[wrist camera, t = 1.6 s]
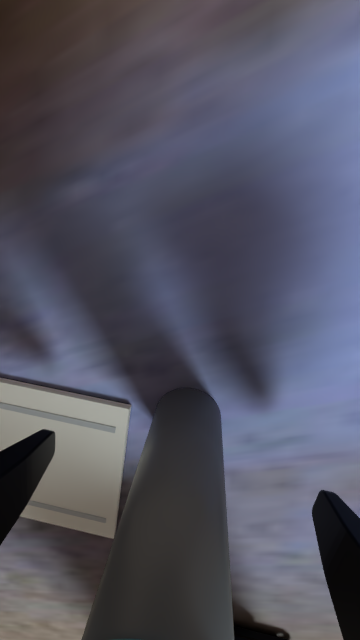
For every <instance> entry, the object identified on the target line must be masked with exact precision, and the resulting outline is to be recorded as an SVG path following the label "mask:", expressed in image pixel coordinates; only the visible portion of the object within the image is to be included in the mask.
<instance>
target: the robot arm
mask: <svg viewBox="0 0 360 640" xmlns="http://www.w3.org/2000/svg"><path fill="white" fill-rule="evenodd" d="M54 453H55V432H54V431H51V430H47V429H42V430H40V431H38V432H36V433H34V434H32V435H30V436H28V437H26V438H24V439H23V440H21V441H19V442H17V443H15V444H13V445H11V446H9V447H7V448H6V449H4V450H2V451H0V545H1V544H2V542H3V541H4V539H5V538H6V536H7V535H8V533H9V531H10V530H11V528H12V527H13V525H14V524H15V522H16V521H17V519H18V518H19V516H20V515H21V513H22V512H23V510H24V509H25V507H26V506H27V504H28V502H29V500H30V499H31V497H32V495H33V493H34V491H35V490H36V488H37V486H38V484H39V482H40V480H41V478H42V477H43V475H44V473H45V471H46V469H47V467H48V465H49V464H50V462H51V460H52V458H53V456H54ZM312 517H313V522H314V526H315V531H316V536H317V541H318V546H319V551H320V556H321V561H322V565H323V570H324V574H325V578H326V581H327V585H328V588H329V592H330V595H331V599H332V602H333V605H334V609H335V612H336V616H337V619H338V622H339V626H340V629H341V633H342V636H343V639H344V640H360V518H359V517H358V516H357V515H356V514H355V513H354V512H353V511H352V510H351V509H350V508H349V507H348V506H347V505H346V504H345V503H344V502H343V501H342V499H341V498H340V497H339V496H338V495H337V494H335V493H333V492H330V491H325V490H321V491H320V492H319V494H318V496H317V498H316V501H315V503H314V505H313V508H312ZM233 627H234V640H287V639H283V638H279V637H275V636H271V635H267V634H263V633H259V632H255V631H251V630H247V629H243V628H239V627H236V626H233Z"/></svg>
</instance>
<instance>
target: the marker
mask: <svg viewBox="0 0 360 640" xmlns="http://www.w3.org/2000/svg"><path fill="white" fill-rule="evenodd" d="M82 640H234V627H233V610H232V593H231V577H230V560H229V544H228V527H227V510H226V494H225V477H224V461H223V444H222V427H221V414H220V410H219V407H218V405H217V404H216V402H215V401H214V400H213V399H212V398H211V397H210V396H209V395H207V394H206V393H204V392H202V391H200V390H197V389H192V388H180V389H175V390H173V391H170V392H169V393H167V394H166V395H164V396H163V397H162V398H161V400H160V401H159V403H158V405H157V408H156V411H155V414H154V417H153V420H152V423H151V426H150V429H149V432H148V436H147V439H146V442H145V445H144V448H143V451H142V454H141V457H140V460H139V463H138V467H137V470H136V473H135V476H134V479H133V482H132V485H131V488H130V491H129V494H128V498H127V501H126V504H125V507H124V510H123V513H122V516H121V519H120V522H119V525H118V528H117V532H116V535H115V538H114V541H113V544H112V547H111V550H110V553H109V556H108V559H107V563H106V566H105V569H104V572H103V575H102V578H101V581H100V584H99V587H98V590H97V594H96V597H95V600H94V603H93V606H92V609H91V612H90V615H89V618H88V621H87V625H86V628H85V631H84V634H83V637H82Z"/></svg>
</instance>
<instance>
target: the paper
mask: <svg viewBox="0 0 360 640" xmlns="http://www.w3.org/2000/svg"><path fill="white" fill-rule="evenodd" d="M130 411H131V405H129V404H124V403H119V402H114V401H110V400H105V399H100V398H95V397H91V396H86V395H81V394H76V393H72V392H67V391H62V390H57V389H52V388H48V387H43V386H38V385H33V384H29V383H24V382H19V381H14V380H10V379H5V378H0V451H2V450H4V449H6V448H7V447H9V446H11V445H13V444H15V443H17V442H19V441H21V440H23V439H24V438H26V437H28V436H30V435H32V434H34V433H36V432H38V431H40V430H42V429H47V430H51V431H54V432H55V453H54V456H53V458H52V460H51V462H50V464H49V465H48V467H47V469H46V471H45V473H44V475H43V477H42V478H41V480H40V482H39V484H38V486H37V488H36V490H35V491H34V493H33V495H32V497H31V499H30V500H29V502H28V504H27V506H26V507H25V509H24V510H23V512H22V513H21V515H20V517H24V518H29V519H33V520H37V521H41V522H45V523H49V524H53V525H58V526H62V527H66V528H70V529H74V530H78V531H82V532H87V533H91V534H95V535H99V536H103V537H107V538H111V539H114V536H115V533H116V526H117V518H118V509H119V501H120V493H121V485H122V477H123V468H124V460H125V452H126V444H127V436H128V428H129V419H130Z"/></svg>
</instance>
